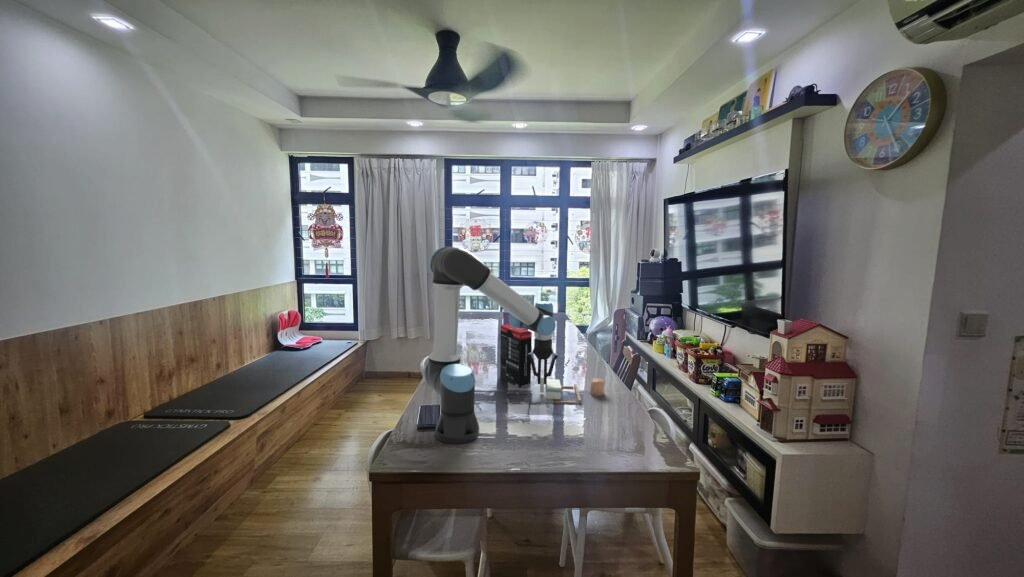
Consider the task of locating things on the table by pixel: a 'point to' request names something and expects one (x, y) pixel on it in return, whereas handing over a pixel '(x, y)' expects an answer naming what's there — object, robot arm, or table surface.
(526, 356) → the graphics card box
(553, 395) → the carton
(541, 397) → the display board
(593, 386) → the wooden block
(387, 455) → the table surface
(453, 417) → the robot arm
